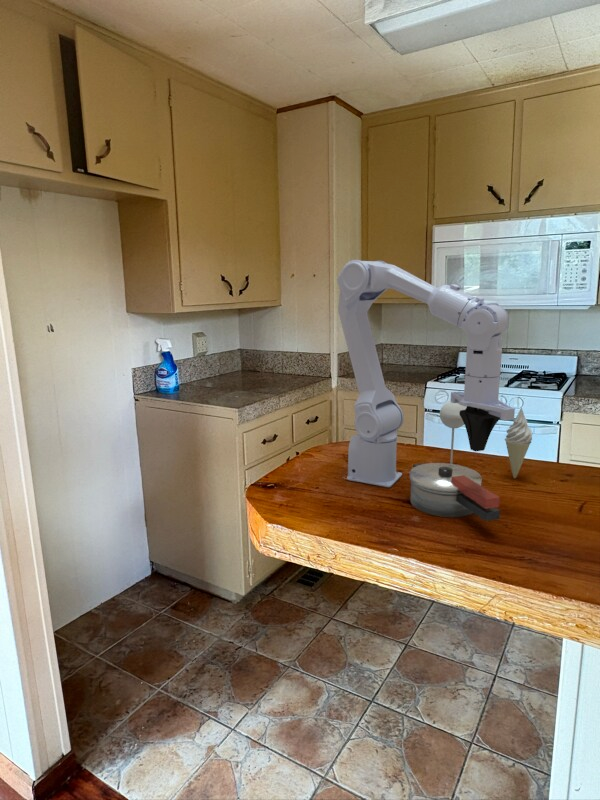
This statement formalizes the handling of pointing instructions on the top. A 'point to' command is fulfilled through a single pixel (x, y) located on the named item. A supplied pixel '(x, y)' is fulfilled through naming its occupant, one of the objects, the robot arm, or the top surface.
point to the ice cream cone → (518, 441)
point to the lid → (454, 481)
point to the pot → (448, 503)
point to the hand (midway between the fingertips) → (477, 449)
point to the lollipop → (452, 419)
